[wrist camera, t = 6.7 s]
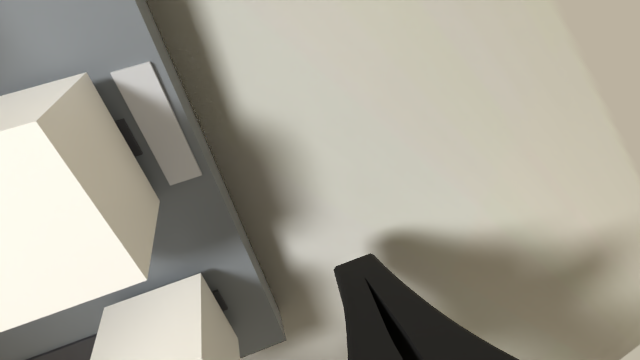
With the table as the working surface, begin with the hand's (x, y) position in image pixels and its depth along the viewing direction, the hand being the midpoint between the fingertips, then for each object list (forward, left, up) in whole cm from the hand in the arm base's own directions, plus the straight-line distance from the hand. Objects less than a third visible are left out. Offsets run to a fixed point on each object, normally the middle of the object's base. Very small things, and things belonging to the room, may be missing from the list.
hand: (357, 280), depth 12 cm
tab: (+4, +8, -1) cm, 9 cm away
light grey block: (-2, +6, -1) cm, 6 cm away
